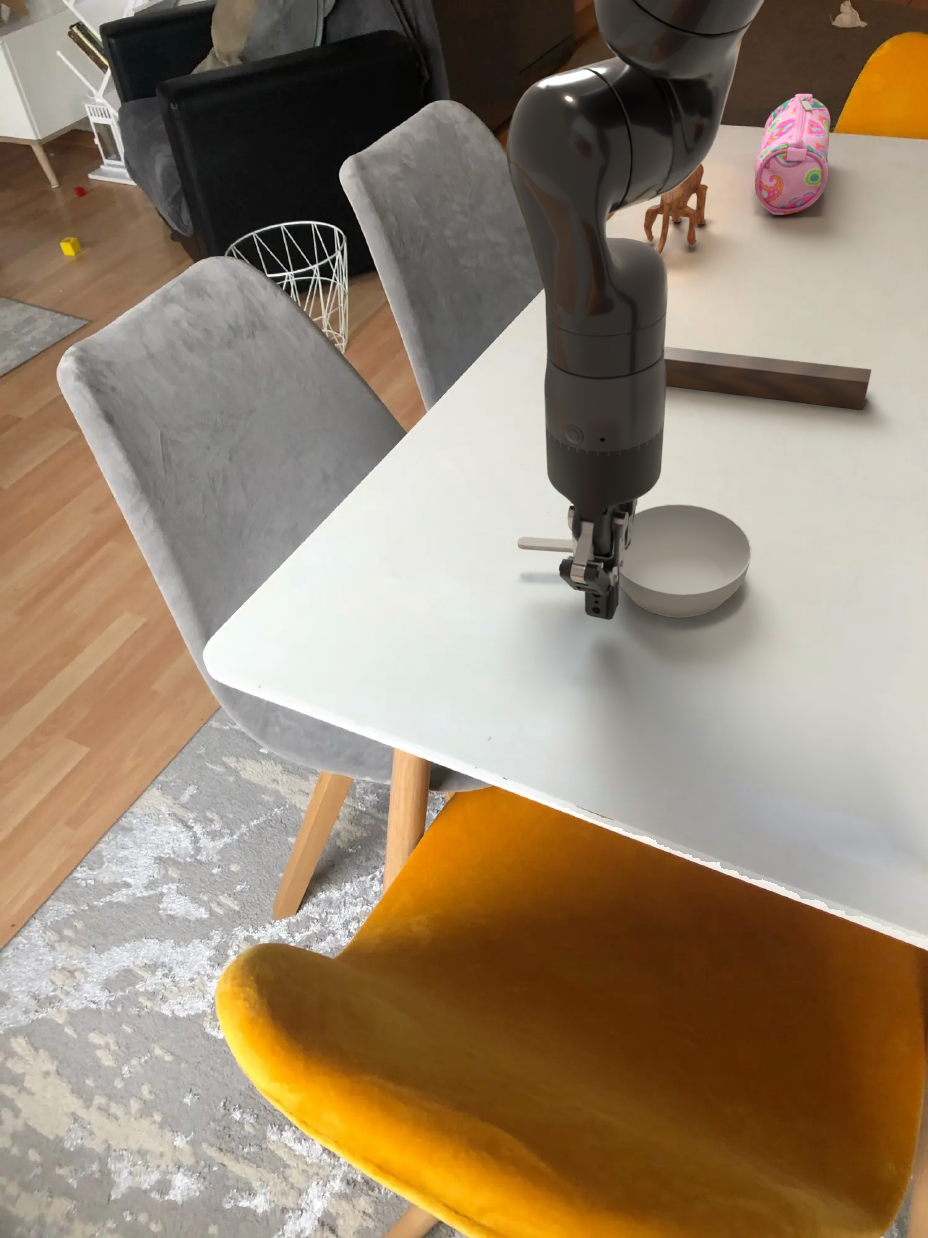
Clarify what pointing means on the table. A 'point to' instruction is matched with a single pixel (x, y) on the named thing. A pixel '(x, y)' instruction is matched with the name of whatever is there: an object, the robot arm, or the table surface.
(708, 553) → the saucepan
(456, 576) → the table surface
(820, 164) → the pencil case
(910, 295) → the table surface
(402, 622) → the table surface
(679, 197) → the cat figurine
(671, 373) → the walnut rail
